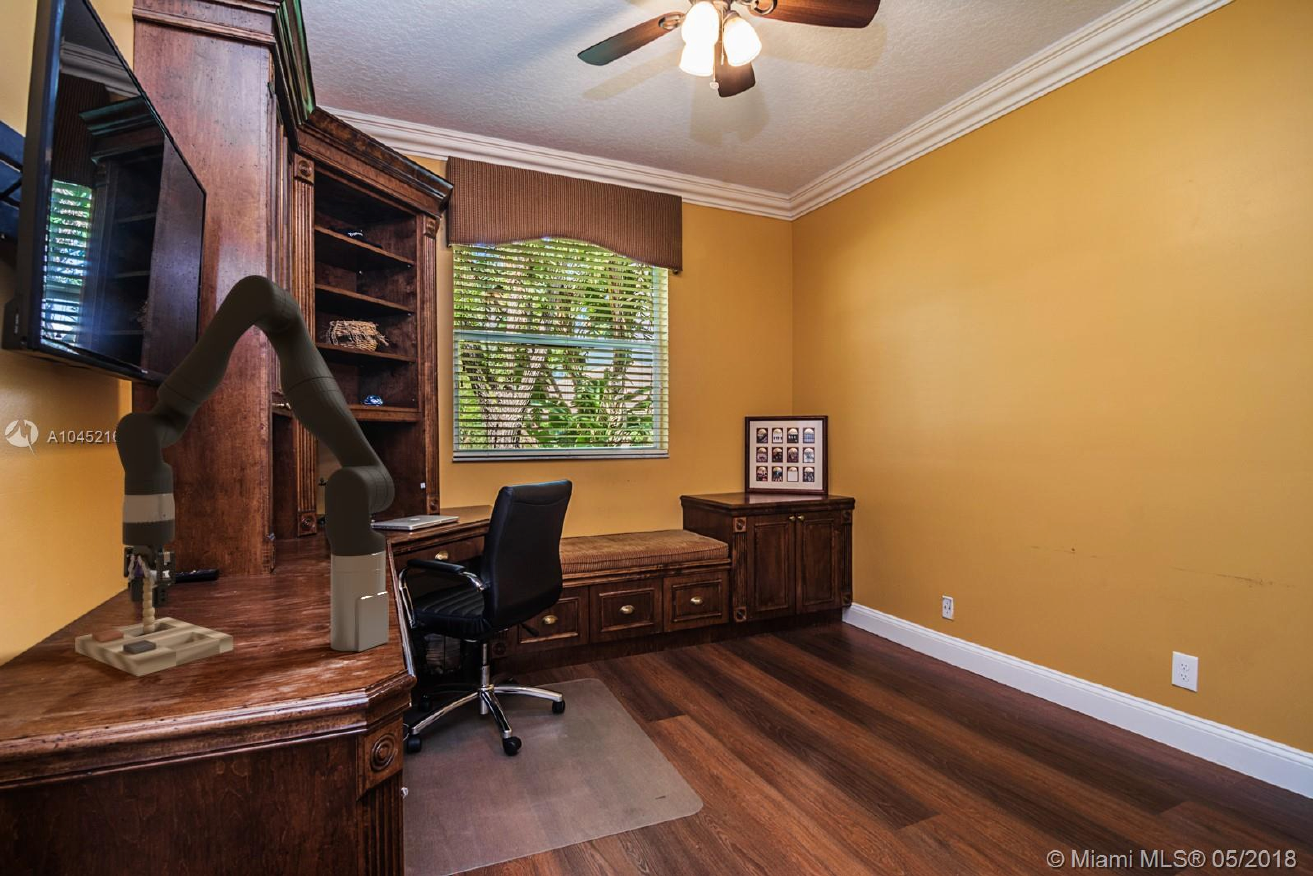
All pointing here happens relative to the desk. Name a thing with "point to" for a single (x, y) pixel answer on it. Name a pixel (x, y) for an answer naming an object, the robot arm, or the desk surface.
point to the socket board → (153, 646)
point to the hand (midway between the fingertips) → (148, 604)
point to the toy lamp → (146, 602)
